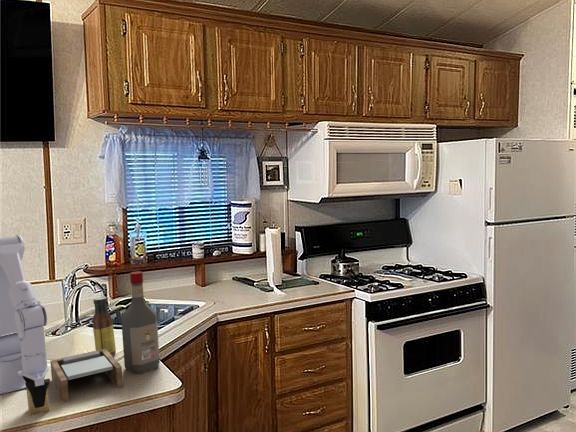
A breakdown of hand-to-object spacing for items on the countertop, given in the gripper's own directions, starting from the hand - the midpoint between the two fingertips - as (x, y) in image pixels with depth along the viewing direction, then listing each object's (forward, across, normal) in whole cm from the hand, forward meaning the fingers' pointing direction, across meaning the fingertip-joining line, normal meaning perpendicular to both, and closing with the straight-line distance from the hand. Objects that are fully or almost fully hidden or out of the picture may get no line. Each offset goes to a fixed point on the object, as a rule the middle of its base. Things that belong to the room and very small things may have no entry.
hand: (38, 403), depth 136 cm
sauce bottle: (+2, -29, +24) cm, 38 cm away
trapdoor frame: (+2, -10, +14) cm, 17 cm away
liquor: (+2, -12, +31) cm, 33 cm away
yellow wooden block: (+2, 0, 0) cm, 2 cm away
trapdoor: (-2, -10, +14) cm, 17 cm away
